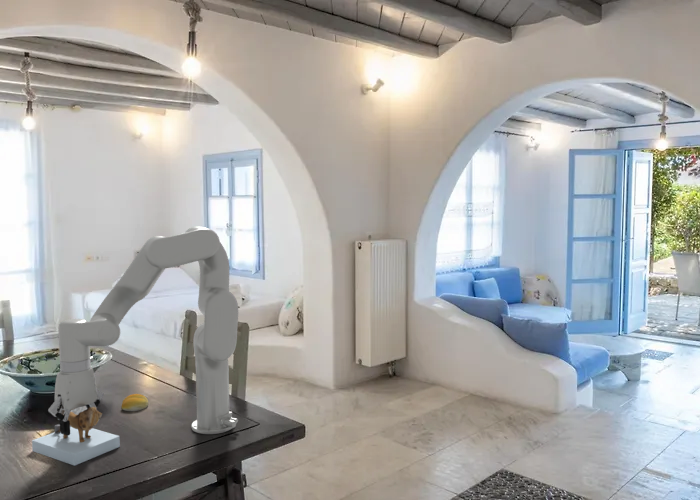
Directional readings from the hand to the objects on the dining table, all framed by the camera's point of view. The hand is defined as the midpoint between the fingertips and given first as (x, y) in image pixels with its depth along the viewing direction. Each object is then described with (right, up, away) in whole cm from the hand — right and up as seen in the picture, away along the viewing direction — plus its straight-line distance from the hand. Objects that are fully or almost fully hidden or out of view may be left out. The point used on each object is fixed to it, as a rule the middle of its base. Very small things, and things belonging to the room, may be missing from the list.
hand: (78, 429), depth 168 cm
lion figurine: (0, -3, +1) cm, 3 cm away
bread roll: (+3, -3, +35) cm, 35 cm away
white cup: (-11, -4, +22) cm, 25 cm away
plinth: (-1, -6, +1) cm, 6 cm away
